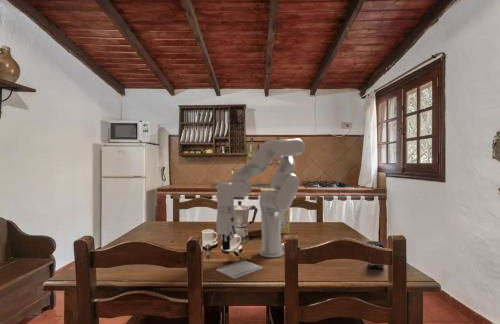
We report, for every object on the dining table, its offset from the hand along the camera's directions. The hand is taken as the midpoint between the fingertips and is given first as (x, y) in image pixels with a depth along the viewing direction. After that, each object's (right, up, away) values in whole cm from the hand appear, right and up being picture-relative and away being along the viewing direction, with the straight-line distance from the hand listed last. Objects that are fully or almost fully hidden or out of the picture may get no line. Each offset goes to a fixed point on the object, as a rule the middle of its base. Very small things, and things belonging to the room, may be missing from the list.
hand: (226, 249), depth 129 cm
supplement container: (+65, -6, -7) cm, 66 cm away
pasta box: (+28, -7, +59) cm, 66 cm away
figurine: (0, -6, +2) cm, 6 cm away
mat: (+7, -7, -7) cm, 12 cm away
